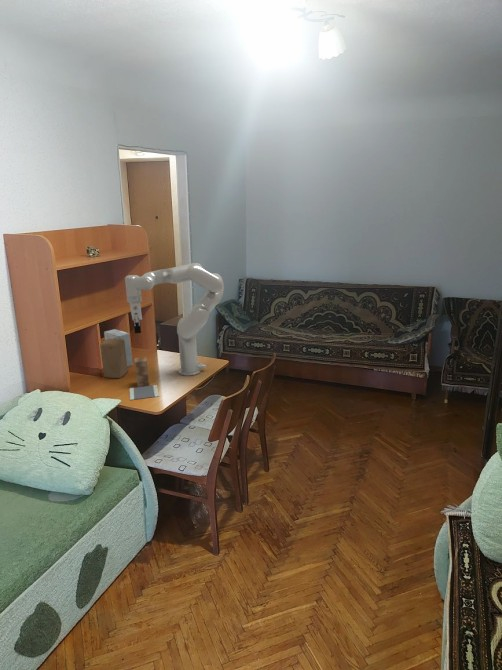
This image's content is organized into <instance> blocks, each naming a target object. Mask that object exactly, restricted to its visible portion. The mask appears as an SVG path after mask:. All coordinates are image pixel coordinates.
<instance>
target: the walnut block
mask: <svg viewBox="0 0 502 670" xmlns="http://www.w3.org/2000/svg"><path fill="white" fill-rule="evenodd" d="M147 360H148V359H147V356H143V357H134V366H135V367H134V368H135V376H136V377H135V378H136V385H137V386H136V387H144V386H150V381H149V379H150V378H149V369H148V361H147Z"/></svg>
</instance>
